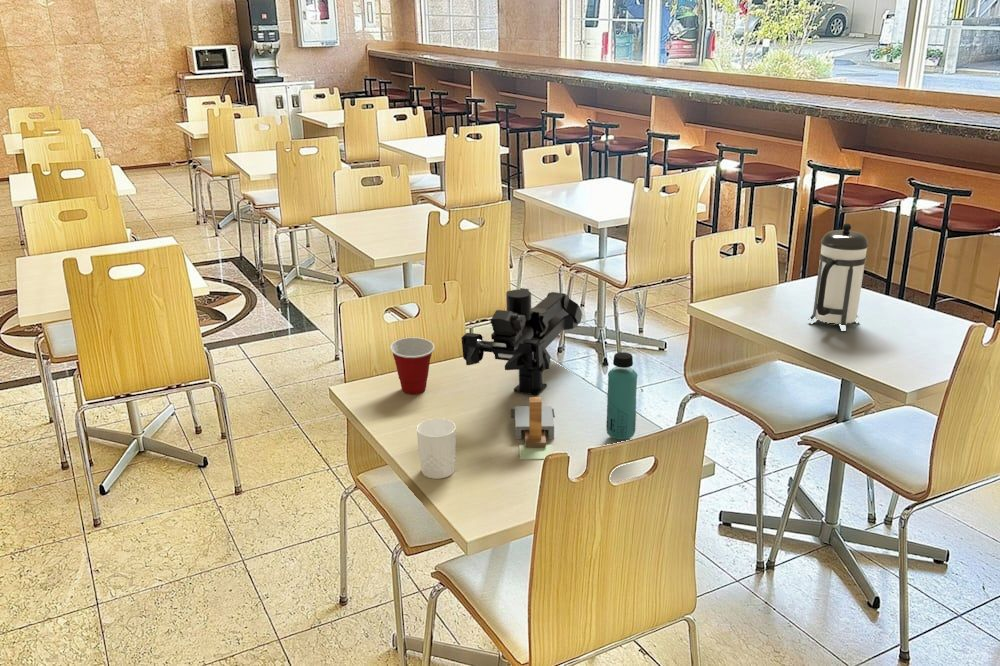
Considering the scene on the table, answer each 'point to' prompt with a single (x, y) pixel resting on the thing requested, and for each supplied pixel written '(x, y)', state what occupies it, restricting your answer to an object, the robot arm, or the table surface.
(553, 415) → the pit
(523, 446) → the pad
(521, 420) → the tunnel
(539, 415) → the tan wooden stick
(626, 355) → the beverage bottle
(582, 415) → the table surface
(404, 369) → the plastic cup
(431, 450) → the white cup
